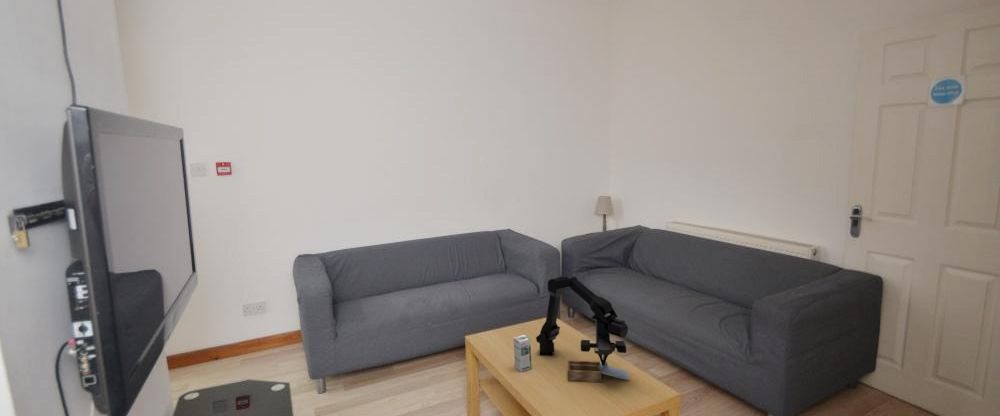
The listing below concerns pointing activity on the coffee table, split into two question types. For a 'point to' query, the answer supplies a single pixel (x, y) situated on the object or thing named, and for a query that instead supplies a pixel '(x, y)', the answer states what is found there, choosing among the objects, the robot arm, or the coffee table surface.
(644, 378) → the coffee table surface
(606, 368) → the cover plate
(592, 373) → the pencil box
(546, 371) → the coffee table surface
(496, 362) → the coffee table surface
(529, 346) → the syrup box
